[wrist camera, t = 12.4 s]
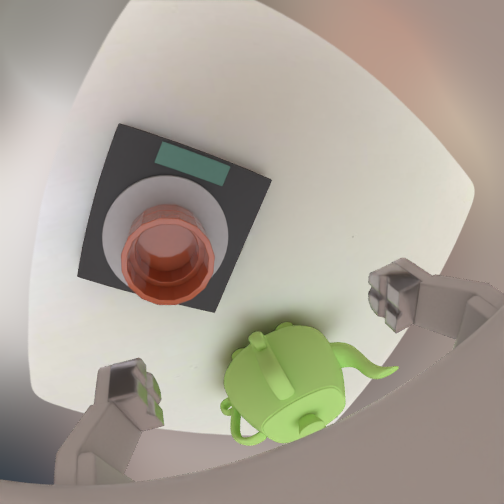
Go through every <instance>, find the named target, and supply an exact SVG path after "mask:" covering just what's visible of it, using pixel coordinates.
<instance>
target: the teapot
mask: <svg viewBox="0 0 504 504" xmlns="http://www.w3.org/2000/svg"><path fill="white" fill-rule="evenodd" d="M248 340H249V342H250V345H248V346H247V347H246V348H240V349H238V350H236V351H235V352H234V353H233V354H232V362H231V363H230V365H229V366H228V368H227V370H226V373H225V376H224V388H225V390H226V393H227V395H228V398H226V399H225V400H223V401H222V403H221V405H220V408H221V411H222V413H223V414H224V415H227V416H231V434H232V436H233V438H234V440H235V441H237V442H238V443H240V444H243V445H248V446H249V445H256V444H259V443H261V442H262V441H264V440H265V439H266V438H267V437H268V438H270V439H271V440H273V441H275V442H278V443H289V442H293V441H295V440H298V439H300V438H302V437H305V436H307V435H309V434H312V433H314V432H316V431H318V430H321V429H323V428H325V427H326V426H325V425H327V424H328V423H330V422H331V421H332V420H334V419H335V418H336V417H337V416H338V415H339V414H340V413H341V412H342V411H343V409H344V407H345V387H344V379H343V373H342V369H341V368H344V367H354V368H356V369H358V370H359V371H360V372H361V373H363V374H364V375H365V376H367V377H369V378H372V379H381V378H384V377H386V376H388V375H390V374H392V373H394V372H395V371H396V370H397V369H398V368H399V367H398V366H393V367H381V366H377V365H375V364H373V363H372V362H370V361H369V360H368V359H367V358H366V357H365V356H364V355H363V354H362V353H361V352H359V351H358V350H357V349H356V348H355V347H353V346H351V345H349V344H346V343H341V342H334V343H329V342H328V340H327V339H326V337H325V336H324V335H323V334H322V333H321V332H320V331H318V330H316V329H315V328H312V327H308V326H300V325H297V326H293V324H292V323H290V322H284V323H281V324H280V325H278V326H277V328H276V329H275V331H273V332H271V333H268V334H266V335H263V334H262V332H259V331H257V332H253V333H252V334H251V335H250V336H249V338H248ZM230 406H232V408H231V409H229V410H228V408H229V407H230ZM241 416H242V417H243V418H244V419H245V420H246V421H247V422H248V423H249V424H251V425H252V426H253V427H254V428H255V429H257V430H258V431H259V432H258V433H257V434H255V435H253V436H251V437H247V438H244V437H242V436H241V433H240V418H241Z"/></svg>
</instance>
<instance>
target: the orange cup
mask: <svg viewBox="0 0 504 504" xmlns="http://www.w3.org/2000/svg"><path fill="white" fill-rule="evenodd" d="M214 261H215V255H214V252H213V249H212V246H211V243H210V240H209V238H208V236H207V234H206V231H205V229H204V227H203V225H202V223H201V222H200V221H199V219H198V218H197V217H196V216H195V215H194V214H193V213H192V212H191V211H189V210H187V209H185V208H183V207H180V206H178V205H170V204H161V205H157V206H154V207H151V208H149V209H146V210H145V211H143V212H142V213H141V214H140V215H139V216H138V217H137V218H136V219H135V220H134V221H133V222H132V224H131V227H130V229H129V231H128V234H127V237H126V240H125V243H124V246H123V249H122V253H121V270H122V274H123V276H124V278H125V280H126V282H127V284H128V286H129V287H130V289H132V290H133V291H134V292H135V293H136V294H137V295H138V296H139V297H141V298H142V299H144V300H147V301H149V302H152V303H155V304H157V305H175V304H176V305H177V304H180V303H183V302H185V301H188V300H191V299H193V298H194V297H195V296H196V295H198V294H199V293H200V292H201V291H202V290H204V289H205V288H206V286H207V284H208V282H209V280H210V278H211V277H212V275H213V271H214Z"/></svg>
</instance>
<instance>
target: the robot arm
mask: <svg viewBox="0 0 504 504" xmlns="http://www.w3.org/2000/svg"><path fill="white" fill-rule="evenodd" d="M368 283H369V284H370V285H371V286H372V287H371V289H370V291H369V293H368V297H369V303H370V306H371V308H372V310H373V311H374V313H375V314H376V315H377V316H380V317H384V318H385V323H386V324H387V325H388V326H389V327H390V328H391V329H392V330H393V331H394V332H395V333H398V332H400V331H402V330H403V329H405V328H407V327H409V326H411V325H412V324H414V325H416V326H419V327H422V328H424V329H427V330H430V331H433V332H436V333H439V334H442V335H444V336H447V337H450V338H453V339H456V341H455V344H454V347H453V350H452V351H450V352H449V353H448V354H446V355H445V356H444V357H442V358H441V359H440V360H438V361H437V362H436V363H434V364H433V365H432V366H430V367H429V368H427V369H426V370H425V371H423V372H422V373H420V374H419V375H417V376H416V377H414V378H413V379H411V380H410V381H408V382H407V383H405V384H404V385H402V386H401V387H399V388H397V389H396V390H394V391H392V392H391V393H389V394H387V395H386V396H384V397H382V398H381V399H379V400H377V401H375V402H374V403H372V404H370V405H368V406H367V407H365V408H363V409H361V410H359V411H357V412H356V413H353V414H352V415H350V416H348V417H346V418H344V419H342V420H340V421H338V422H336V423H334V424H331V425H329V426H327V427H325V428H323V429H321V430H318V431H316V432H314V433H312V434H309V435H307V436H305V437H302V438H300V439H298V440H295V441H293V442H290V443H288V444H285V445H282V446H280V447H277V448H274V449H272V450H269V451H266V452H263V453H260V454H257V455H254V456H251V457H248V458H245V459H242V460H238V461H235V462H231V463H228V464H224V465H221V466H217V467H213V468H209V469H205V470H201V471H196V472H192V473H187V474H182V475H177V476H172V477H166V478H160V479H154V480H147V481H140V482H135V481H133V480H132V479H130V478H129V477H127V476H126V475H124V473H125V471H126V469H127V466H128V464H129V461H130V459H131V457H132V455H133V452H134V450H135V448H136V445H137V443H138V441H139V438H140V436H141V434H142V432H141V431H146V430H150V429H153V428H158V427H162V426H164V420H163V411H162V409H161V408H160V406H159V405H158V404H159V403H160V401H161V392H160V389H159V386H158V383H157V381H156V379H155V378H154V376H153V375H152V374H151V373H149V372H146V365H145V363H144V362H143V360H142V359H141V358H136V359H132V360H128V361H124V362H120V363H116V364H113V365H109V366H105V367H101V368H100V369H99V370H98V375H97V382H96V390H95V399H94V405H90V407H89V408H88V409H87V411H86V412H85V413H84V415H83V416H82V418H81V419H80V420H79V422H78V423H77V425H76V426H75V428H74V429H73V430H72V432H71V433H70V434H69V436H68V437H67V439H66V440H65V442H64V443H63V445H62V446H61V447H60V449H59V450H58V452H57V453H56V461H55V474H54V485H44V484H31V483H21V482H13V481H6V480H0V504H504V293H502V292H501V291H499V290H498V289H496V288H495V287H493V286H492V285H490V284H489V283H485V282H479V281H473V280H467V279H460V278H454V277H448V276H442V275H436V274H435V275H433V276H432V275H430V274H429V273H427V272H426V271H424V270H423V269H421V268H420V267H418V266H417V265H415V264H414V263H412V262H411V261H409V260H408V259H406V258H400V259H398V260H396V261H394V262H392V263H391V264H388V265H386V266H384V267H382V268H380V269H377V270H375V271H373V272H371V273H370V274H369V281H368Z"/></svg>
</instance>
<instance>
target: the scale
mask: <svg viewBox="0 0 504 504" xmlns="http://www.w3.org/2000/svg"><path fill="white" fill-rule="evenodd" d="M271 181H272V180H271V179H269V178H267V177H264V176H262V175H260V174H257V173H255V172H253V171H250V170H248V169H245V168H243V167H240V166H238V165H235V164H233V163H230V162H228V161H225V160H223V159H220V158H218V157H215V156H213V155H210V154H207V153H205V152H202V151H199V150H197V149H194V148H191V147H188V146H186V145H183V144H180V143H177V142H175V141H172V140H169V139H166V138H163V137H160V136H157V135H154V134H151V133H148V132H145V131H142V130H139V129H136V128H133V127H130V126H126V125H123V124H118V127H117V130H116V132H115V135H114V138H113V140H112V143H111V146H110V149H109V152H108V155H107V157H106V160H105V164H104V167H103V170H102V173H101V176H100V179H99V183H98V186H97V190H96V193H95V197H94V201H93V204H92V208H91V212H90V216H89V220H88V224H87V229H86V233H85V238H84V242H83V247H82V252H81V258H80V263H79V269H78V275H77V277H80V278H83V279H86V280H90V281H93V282H96V283H100V284H103V285H107V286H110V287H114V288H117V289H121V290H124V291H128V292H132V293H135V292H134V291H133V290H132V289H130V287H129V286H128V284H127V282H126V280H125V278H124V276H123V274H122V270H121V253H122V249H123V246H124V243H125V240H126V237H127V234H128V231H129V229H130V227H131V224H132V222H133V221H134V220H135V219H136V218H137V217H138V216H139V215H140V214H141V213H142V212H143V211H145V210H146V209H149V208H151V207H154V206H157V205H161V204H170V205H178V206H180V207H183V208H185V209H187V210H189V211H191V212H192V213H193V214H194V215H195V216H196V217H197V218H198V219H199V221H200V222H201V223H202V225H203V227H204V229H205V231H206V234H207V236H208V238H209V240H210V243H211V246H212V249H213V252H214V255H215V261H214V271H213V275H212V277H211V278H210V280H209V282H208V284H207V286H206V288H205V289H204V290H202V291H201V292H200V293H199V294H198V295H196V296H195V297H194V298H193V299H191V300H188V301H185V302H183V303H180V304H179V305H183V306H187V307H191V308H196V309H200V310H205V311H209V312H214V313H215V311H216V309H217V306H218V304H219V302H220V299H221V297H222V295H223V292H224V290H225V287H226V285H227V283H228V280H229V278H230V276H231V273H232V271H233V269H234V266H235V264H236V262H237V259H238V257H239V255H240V252H241V250H242V248H243V246H244V243H245V241H246V239H247V236H248V234H249V232H250V229H251V227H252V225H253V222H254V220H255V218H256V215H257V213H258V211H259V209H260V206H261V204H262V202H263V199H264V197H265V195H266V193H267V190H268V188H269V186H270V183H271ZM135 294H136V293H135Z"/></svg>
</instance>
